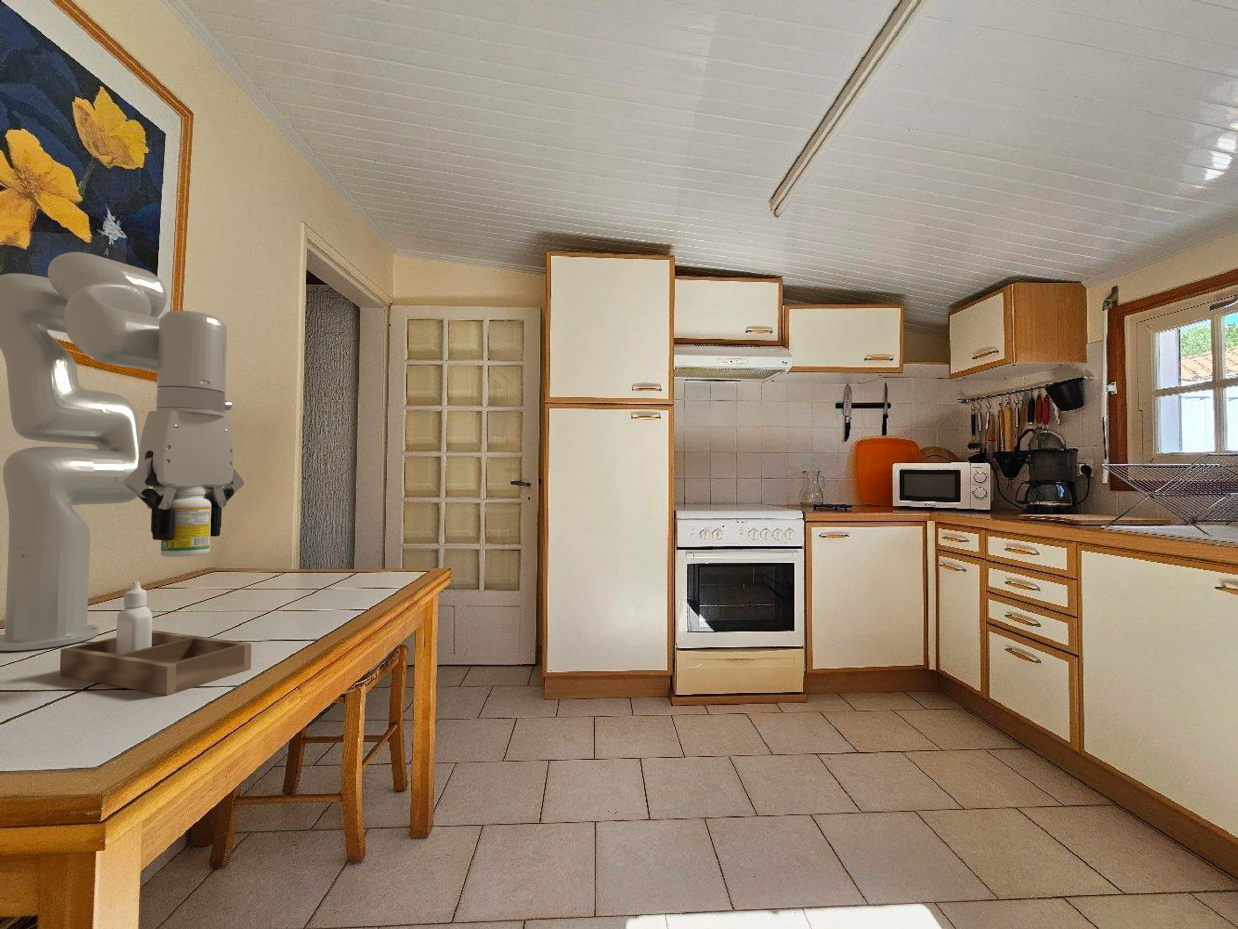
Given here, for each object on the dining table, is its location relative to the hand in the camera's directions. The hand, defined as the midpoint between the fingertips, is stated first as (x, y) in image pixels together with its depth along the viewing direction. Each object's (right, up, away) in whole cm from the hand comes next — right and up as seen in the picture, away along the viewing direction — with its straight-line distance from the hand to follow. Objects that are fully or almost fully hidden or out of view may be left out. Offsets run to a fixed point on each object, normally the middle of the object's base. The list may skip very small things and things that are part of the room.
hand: (187, 536), depth 78 cm
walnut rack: (-5, -19, +1) cm, 19 cm away
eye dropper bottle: (-10, -19, +3) cm, 21 cm away
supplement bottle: (0, -3, 0) cm, 3 cm away
